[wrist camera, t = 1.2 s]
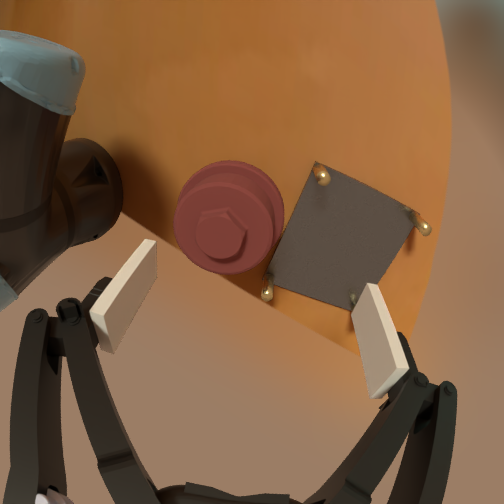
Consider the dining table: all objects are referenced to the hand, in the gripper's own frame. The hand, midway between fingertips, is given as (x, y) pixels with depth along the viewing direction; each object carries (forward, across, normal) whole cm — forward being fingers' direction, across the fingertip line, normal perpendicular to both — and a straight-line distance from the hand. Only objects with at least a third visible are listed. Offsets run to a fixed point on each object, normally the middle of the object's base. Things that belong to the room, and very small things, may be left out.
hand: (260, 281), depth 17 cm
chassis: (+17, +10, -5) cm, 21 cm away
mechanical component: (+18, -3, -1) cm, 18 cm away
